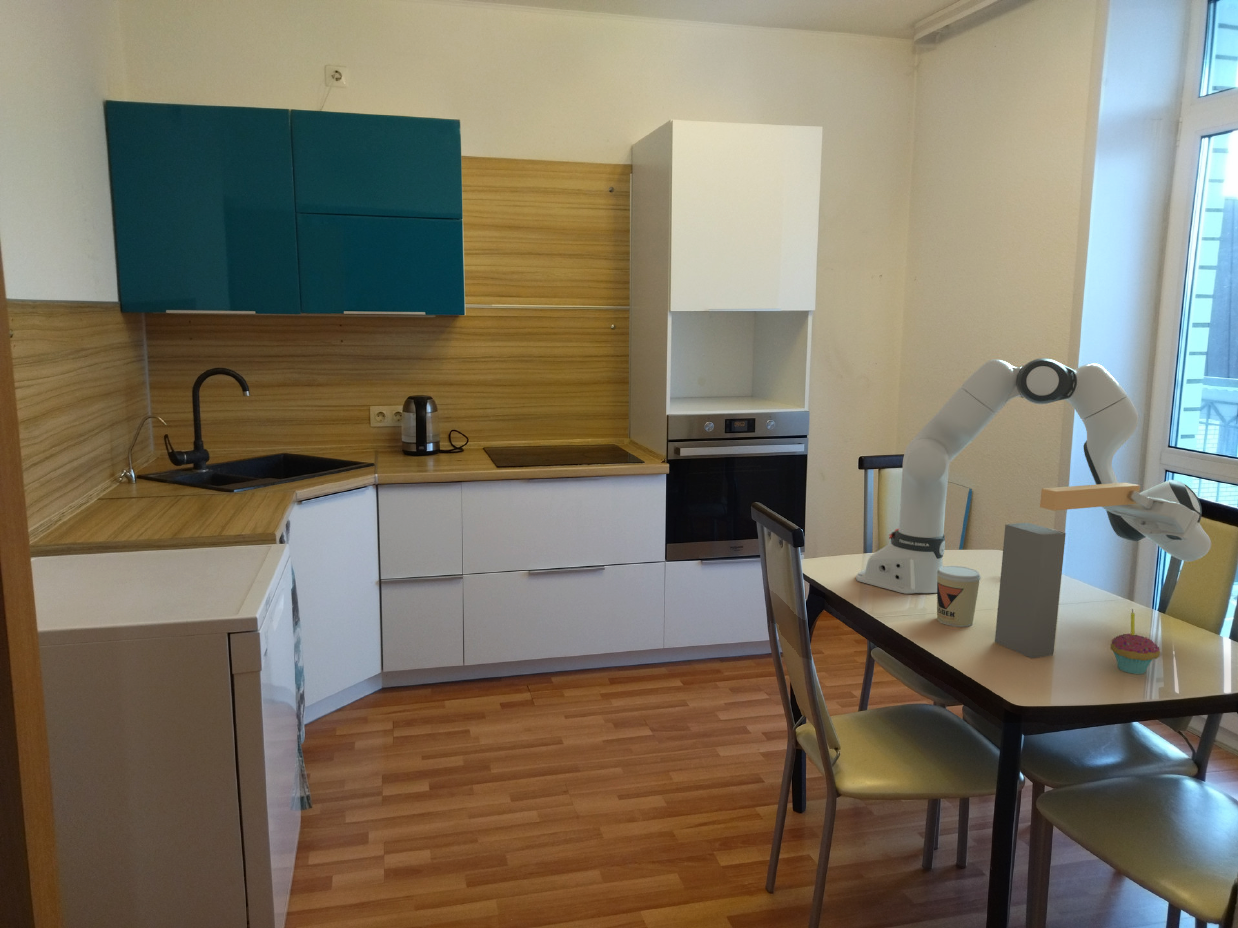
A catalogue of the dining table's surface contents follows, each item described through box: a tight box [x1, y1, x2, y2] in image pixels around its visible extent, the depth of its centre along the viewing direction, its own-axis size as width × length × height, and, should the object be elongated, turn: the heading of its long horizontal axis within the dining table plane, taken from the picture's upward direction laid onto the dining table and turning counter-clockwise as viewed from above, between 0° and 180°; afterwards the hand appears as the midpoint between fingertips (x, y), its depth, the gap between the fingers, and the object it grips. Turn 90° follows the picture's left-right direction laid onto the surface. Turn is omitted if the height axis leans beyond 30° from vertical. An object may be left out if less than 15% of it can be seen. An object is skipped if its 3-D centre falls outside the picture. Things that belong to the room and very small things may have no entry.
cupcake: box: [1110, 608, 1161, 675], centre depth 176 cm, size 9×8×12 cm
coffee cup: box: [936, 565, 982, 628], centre depth 204 cm, size 9×9×12 cm
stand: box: [994, 522, 1067, 659], centre depth 186 cm, size 6×10×26 cm, turn 21°
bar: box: [1039, 482, 1141, 512], centre depth 188 cm, size 24×4×4 cm, turn 111°
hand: (1120, 491), depth 191 cm, fingers closed on bar, 4 cm apart
